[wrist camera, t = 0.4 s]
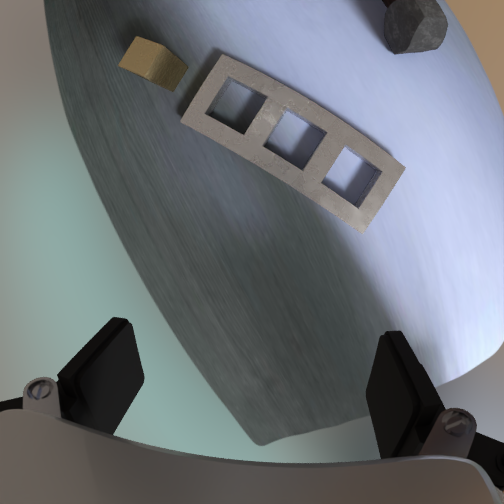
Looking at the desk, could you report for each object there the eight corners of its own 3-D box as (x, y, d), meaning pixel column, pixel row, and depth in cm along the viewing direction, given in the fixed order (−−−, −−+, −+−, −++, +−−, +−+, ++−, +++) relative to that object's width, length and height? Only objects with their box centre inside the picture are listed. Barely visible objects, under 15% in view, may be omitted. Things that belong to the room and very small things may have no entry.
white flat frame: (186, 123, 36) (179, 121, 34) (226, 60, 33) (222, 54, 30) (357, 229, 38) (362, 234, 35) (398, 167, 35) (405, 167, 32)
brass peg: (150, 81, 34) (118, 65, 26) (165, 57, 33) (136, 35, 25) (173, 92, 35) (143, 76, 26) (188, 67, 34) (163, 45, 25)
